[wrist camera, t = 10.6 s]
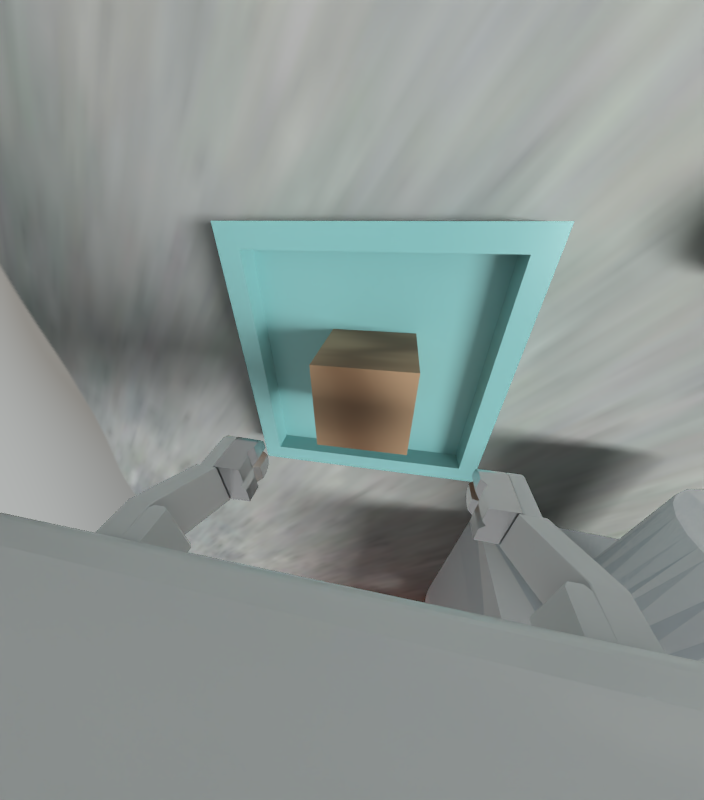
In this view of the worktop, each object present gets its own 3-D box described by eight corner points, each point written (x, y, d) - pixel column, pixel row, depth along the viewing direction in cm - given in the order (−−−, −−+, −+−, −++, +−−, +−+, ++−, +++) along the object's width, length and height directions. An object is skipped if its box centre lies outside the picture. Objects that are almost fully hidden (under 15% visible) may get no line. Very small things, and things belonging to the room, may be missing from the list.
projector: (551, 636, 37) (623, 841, 25) (417, 606, 39) (423, 784, 27) (820, 475, 18) (1822, 1087, 5) (524, 427, 19) (741, 800, 7)
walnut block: (416, 333, 16) (420, 373, 11) (406, 403, 18) (406, 455, 14) (333, 328, 16) (309, 364, 12) (336, 396, 19) (317, 444, 15)
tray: (548, 221, 13) (574, 221, 11) (466, 458, 22) (472, 481, 20) (236, 221, 15) (210, 220, 13) (279, 436, 24) (268, 455, 22)
